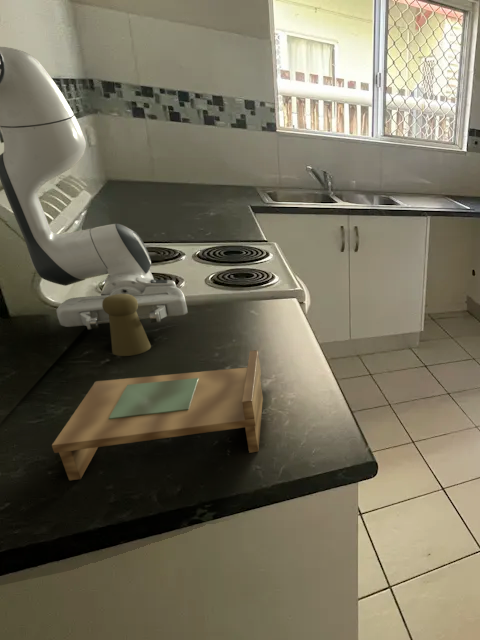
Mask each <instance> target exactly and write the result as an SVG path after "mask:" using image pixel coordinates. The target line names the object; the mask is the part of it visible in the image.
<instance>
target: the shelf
mask: <svg viewBox="0 0 480 640" xmlns="http://www.w3.org/2000/svg"><path fill="white" fill-rule="evenodd" d="M259 354H260V353H259V350H258V349H256V350H249V354H248V360H247V367H238V368H225V369H214V370H204V371H193V372H182V373H172V374H161V375H160V374H159V375H151V376H149V375H148V376H139V377H128V378H119V379H108V380H107V379H106V380H96V381H94V383H93V384H92V386H91V387H90V389H89V390H88V391H87V393H86V395H85V396H84V398H83V399H82V401H81V402H80V404H79V405H78V406H77V408H76V409H75V411H74V412H73V414H72V415H71V417H70V418H69V419H68V420H67V422H66V423H65V425H64V426H63V428H62V430H61V431H60V433H59V434H58V435H57V437H56V438H55V440H54V441H53V442H52V444H51V448H52V450H53V453H54V454H59V456H60V459H61V462H62V465H63V467H64V470H65V473H66V476H67V478H68V481H77V480H81V479H82V477H83V476H84V474H85V472H86V470H87V469H88V466H89V465H90V463H91V462H92V459H93V457H94V456H95V454H96V452H97V450H98V448H101V447H109V446H117V445H124V444H125V445H126V444H133V443H138V442H146V441H147V442H148V441H154V440H155V441H156V440H161V439H168V438H169V439H170V438H177V437H183V436H191V435H198V434H199V435H200V434H205V433H213V432H221V431H227V430H235V429H243V428H244V430H245V435H246V441H247V448H248V453H250V454H252V453H258V452H259V451H260V450H259V449H260V439H261V438H260V437H261V425H262V412H263V402H264V401H263V400H264V397H263V390H262V382H261V375H262V369H261V362H260V356H259Z"/></svg>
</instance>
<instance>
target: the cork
mask: <svg viewBox="0 0 480 640" xmlns="http://www.w3.org/2000/svg"><path fill="white" fill-rule="evenodd" d="M102 307H103V309H104V311H105V312H106V313H107V314H109V322H110V323H109V330H110V342H111V353H112V354H113V355H115V356H117V357H118V356H119V357H129V356H130V357H131V356H136V355H140V354H143V353H146V352H147V351H149V350H150V349H151V348H152V345H151V342H150V341H149V338H148V336H147V333H146V331H145V329H144V326H143V324H142V321H141V320H140V319H139V317H138V315H137V312H136V310H137V309H138V302H137V300H136V298H135V297H134V296H132V295H129V294H115V295H111V296H108V297H106V298H105V299H104V300H103V303H102Z"/></svg>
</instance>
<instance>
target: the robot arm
mask: <svg viewBox="0 0 480 640" xmlns="http://www.w3.org/2000/svg"><path fill="white" fill-rule="evenodd" d="M74 113H75V112H73V110H72V108H71V106H70V104H69V103H68V101H67V99H66V98H65V95H64V94H63V93H62V91H61V90H60V88H59V86H58V84H56V82H55V81H54V80H53V78H52V77H51V75H50V74H49V72H48V71H47V70H46V69H45V67H44V66H43V64H42V63H41V62H40V61H39V60H38V59H37V58H36V57H34V56H33V55H31V54H30V53H28V52H25V51H23V50H20V49H18V48H13V47H8V46H0V134H1V136H2V140H3V152H2V153H1V154H0V183H1V186H2V189H3V192H4V193H5V196H6V199H7V202H8V204H9V206H10V208H11V212H12V213H13V217H14V218H15V220H16V222H17V225H18V227H19V230H20V232H21V235H22V237H23V239H24V241H25V245H26V248H27V251H28V255H29V259H30V263H31V265H32V267H33V269H34V271H35V273H37V274H38V276H39V277H40V278H41V279H42V280H44V281H47V282H50V283H53V284H56V285H60V286H64V287H67V286H70V285H73V284H76V283H79V282H82V281H85V280H87V279H92V278H95V277H100V276H105V275H107V276H106V277H105V281H104V284H103V287H102V290H101V293H100V295H88V296H87V295H86V296H77V297H76V296H75V297H72V298H68V299H65V300H64V301H63V302H61V303H60V304H59V306H58V307H57V308H56V310H55V312H56V316H57V319H58V322H59V325H60V326H62V327H64V328H72V327H81V326H82V327H83V326H86V328H87V330H95V329H99V327H100V324H101V325H102V324H110V322H109V314H107V313H106V312H105V311H104V309H103V307H102V303H103V300H104V299H105V298H106V297H108V296H111V295H115V294H129V295H132V296H134V297H135V298H136V300H137V302H138V309H137V310H136V312H137V315H138V317H139V319H140V321H141V320H149V319H150V323H151V324H152V323H161V320H162V319H164V318H168V317H170V318H171V317H180V316H185V315H187V314H188V313H189V312H188V306H187V302H186V297H185V294H184V292H183V291H182V289H181V288H179V287H177V284H176V282H175V281H174V280H172V279H171V280H168V279H154V275H153V274H152V271H151V270H150V268H151V265H152V260H151V256H150V254H149V251H148V249H147V246H146V244H145V243H144V241H143V239H142V238H141V237H140V235H139V234H138V233H137V232H136V231H134V230H132V229H131V228H129V227H128V226H125V225H124V224H122V223H121V224H120V223H116V222H115V223H111V224H106V225H100V226H95V227H91V228H87V229H81V230H77V231H71V232H67V233H56V232H54V231H52V229H51V226H50V224H49V221H48V219H47V216H46V213H45V211H44V209H43V208H44V207H43V206H42V204H41V200H40V197H39V190H40V189H41V187H43V186H44V185H45V184H46V183H48V182H50V181H51V180H52V179H55V178H56V177H58V176H60V175H62V174H64V173H66V172H67V171H69V170H70V169H72V168H73V167H74V166H75V165H76V164H78V162H80V160H81V159H82V158H83V157H84V155H85V152H86V149H87V148H86V147H87V141H86V139H85V136H84V132H83V130H82V128H81V125H80V123H79V121H78V119H77V117H76V115H75V114H74Z"/></svg>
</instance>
